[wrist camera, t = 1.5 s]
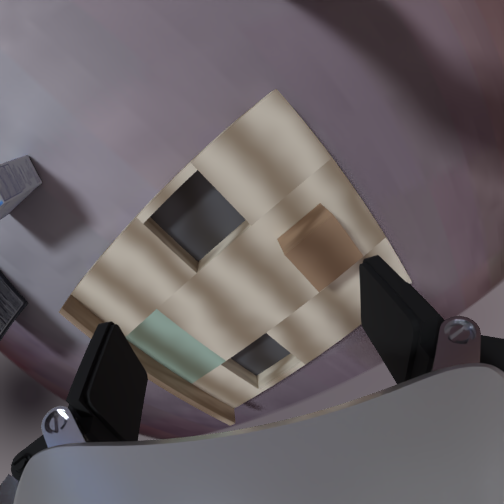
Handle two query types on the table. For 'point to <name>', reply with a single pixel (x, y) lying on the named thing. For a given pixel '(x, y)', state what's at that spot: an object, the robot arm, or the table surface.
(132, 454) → the robot arm
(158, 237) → the box
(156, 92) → the table surface
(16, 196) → the medicine box
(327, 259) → the walnut block
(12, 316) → the small box
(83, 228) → the table surface
